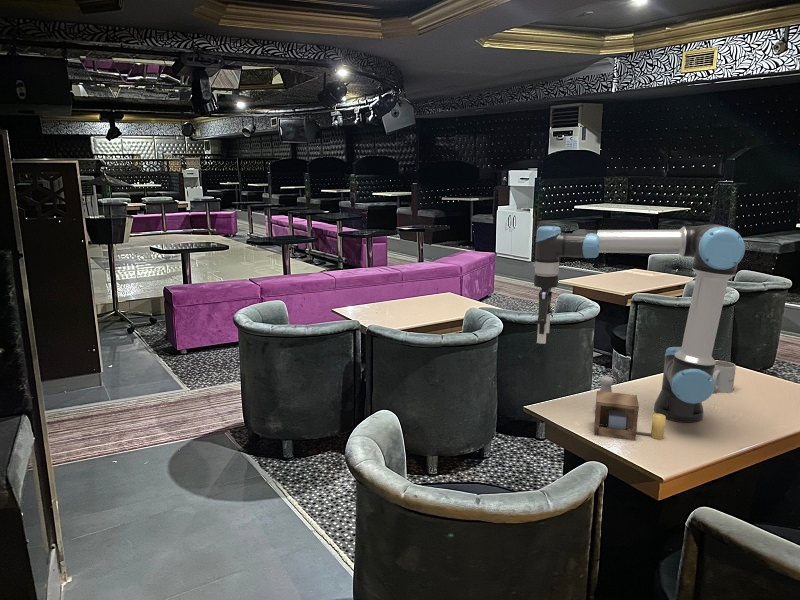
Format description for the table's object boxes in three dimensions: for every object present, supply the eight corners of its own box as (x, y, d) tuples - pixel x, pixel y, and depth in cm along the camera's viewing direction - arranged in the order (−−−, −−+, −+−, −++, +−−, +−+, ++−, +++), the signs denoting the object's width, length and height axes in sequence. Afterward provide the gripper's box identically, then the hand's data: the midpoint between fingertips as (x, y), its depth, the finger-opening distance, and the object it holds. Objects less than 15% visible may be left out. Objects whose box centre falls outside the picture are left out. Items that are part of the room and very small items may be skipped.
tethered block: (662, 434, 185) (664, 413, 183) (664, 441, 180) (666, 419, 179) (607, 427, 190) (609, 406, 188) (607, 433, 185) (609, 412, 184)
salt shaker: (592, 410, 203) (595, 374, 201) (608, 409, 204) (611, 374, 201) (599, 417, 198) (602, 380, 195) (615, 416, 198) (619, 379, 196)
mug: (715, 383, 231) (718, 359, 229) (737, 390, 223) (740, 365, 221) (696, 389, 224) (699, 364, 222) (718, 396, 217) (722, 370, 215)
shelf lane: (633, 427, 190) (636, 395, 187) (635, 440, 180) (638, 406, 178) (594, 422, 193) (597, 390, 191) (594, 435, 184) (597, 401, 182)
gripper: (538, 268, 204) (535, 327, 209) (530, 280, 181) (527, 346, 186) (560, 269, 202) (557, 329, 206) (555, 281, 179) (552, 348, 183)
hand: (543, 337), depth 196 cm, fingers open, 13 cm apart
